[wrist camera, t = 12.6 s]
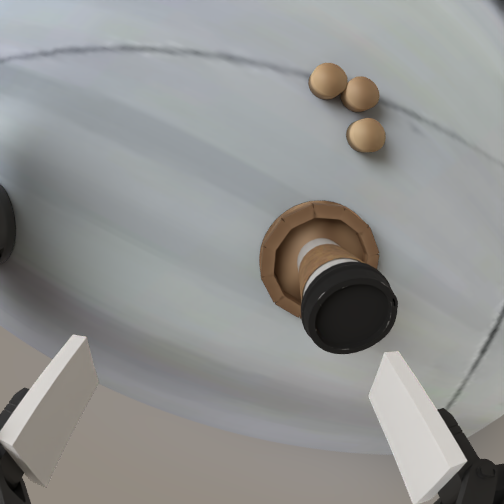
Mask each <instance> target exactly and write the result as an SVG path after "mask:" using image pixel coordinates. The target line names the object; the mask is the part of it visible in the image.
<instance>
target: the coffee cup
mask: <svg viewBox="0 0 504 504" xmlns="http://www.w3.org/2000/svg"><path fill="white" fill-rule="evenodd" d="M297 266H298V273H299V283H300V293H301V318H302V323H303V326H304V329H305V331H306V332H307V334H308V335H309V336H310V337H311V338H312V340H313V341H314V343H315V344H316V345H317V346H318V347H320V348H321V349H323V350H325V351H327V352H330V353H335V354H350V353H355V352H359V351H362V350H365V349H367V348H369V347H371V346H373V345H374V344H376V343H377V342H379V341H380V340H381V339H383V338H384V337H385V336H386V335H387V334H388V333H389V331H390V330H391V328H392V327H393V325H394V322H395V319H396V315H397V307H398V301H397V298H396V296H395V295H394V293H393V291H392V290H391V287H390V285H389V282H388V281H387V280H386V278H385V277H384V276H383V275H382V274H381V273H380V272H379V271H378V270H377V269H376V268H374V267H372V266H371V265H369V264H366V263H364V262H363V261H361V260H360V259H359V258H357V257H356V256H354V255H353V254H351V253H350V252H348V251H347V250H345V249H344V248H342V247H340V246H339V245H338V244H336V243H335V242H333V241H331V240H329V239H325V238H318V239H314V240H311V241H310V242H308V243H307V244H305V245H304V246H303V248H302V249H301V250H300V252H299V255H298V259H297Z"/></svg>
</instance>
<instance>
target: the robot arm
mask: <svg viewBox="0 0 504 504" xmlns="http://www.w3.org/2000/svg"><path fill="white" fill-rule="evenodd" d="M14 242H15V219H14V213H13V209H12V205H11V202H10V200H9V197H8V195H7V193H6V192H5V190H4V189H3V187H2V186H1V185H0V264H1V263H3V262H5V261H6V260H7V259H8V258H9V256H10V255H11V253H12V250H13V247H14ZM98 384H99V380H98V377H97V374H96V370H95V367H94V363H93V359H92V356H91V352H90V348H89V344H88V340H87V337H84V336H79V335H72V336H71V337H70V339H69V340H68V341H67V342H66V344H65V345H64V346H63V347H62V348H61V350H60V351H59V352H58V353H57V355H56V356H55V357H54V358H53V360H52V361H51V362H50V364H49V365H48V366H47V368H46V369H45V370H44V371H43V373H42V374H41V375H40V376H39V378H38V379H37V380H36V382H35V383H34V385H33V386H32V387H31V388H30V389H27V388H23V389H22V390H20V391H19V392H17V393H16V394H15V395H14V396H13V398H12V399H11V400H10V402H9V404H8V405H7V406H6V407H5V408H4V410H3V411H2V413H1V414H0V504H31V502H30V499H29V496H28V493H27V489H26V486H25V483H24V481H23V479H22V476H23V474H24V473H25V475H26V476H27V477H28V478H29V479H30V480H31V481H33V482H35V483H37V484H39V485H41V486H43V487H47V485H48V483H49V481H50V479H51V476H52V474H53V472H54V470H55V468H56V465H57V463H58V461H59V459H60V457H61V455H62V453H63V451H64V449H65V447H66V445H67V443H68V441H69V439H70V437H71V435H72V433H73V431H74V429H75V427H76V425H77V423H78V421H79V419H80V417H81V415H82V414H83V412H84V410H85V408H86V406H87V404H88V402H89V400H90V399H91V397H92V395H93V393H94V391H95V389H96V388H97V386H98ZM368 397H369V400H370V402H371V404H372V406H373V409H374V411H375V413H376V415H377V418H378V420H379V422H380V425H381V427H382V429H383V432H384V434H385V436H386V439H387V441H388V443H389V446H390V448H391V451H392V453H393V455H394V458H395V460H396V463H397V465H398V468H399V470H400V473H401V475H402V478H403V480H404V483H405V485H406V488H407V490H408V493H409V495H410V498H411V501H412V503H413V504H421V503H424V502H426V501H429V500H431V499H432V498H433V497H434V496H435V495H436V494H437V493H438V494H439V497H440V498H439V499H438V500H437V501H436V502H435V503H434V504H504V464H499V465H495V464H494V463H493V462H492V461H489V460H487V459H480V458H479V457H478V456H477V454H476V452H475V451H474V449H473V447H472V446H471V445H470V442H469V441H468V439H467V438H466V436H465V434H464V433H462V430H461V428H460V426H458V423H457V422H456V420H455V419H454V417H453V416H452V415H451V414H450V413H449V412H448V411H446V410H445V409H444V408H442V409H438V410H437V409H436V407H435V406H434V404H433V403H432V401H431V400H430V398H429V396H428V395H427V393H426V392H425V390H424V389H423V387H422V386H421V384H420V383H419V381H418V379H417V378H416V376H415V375H414V373H413V372H412V370H411V369H410V367H409V366H408V364H407V363H406V362H405V360H404V359H403V357H402V356H401V354H400V353H399V351H395V352H384V355H383V357H382V360H381V363H380V366H379V369H378V372H377V374H376V377H375V380H374V382H373V385H372V388H371V390H370V393H369V395H368Z"/></svg>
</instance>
